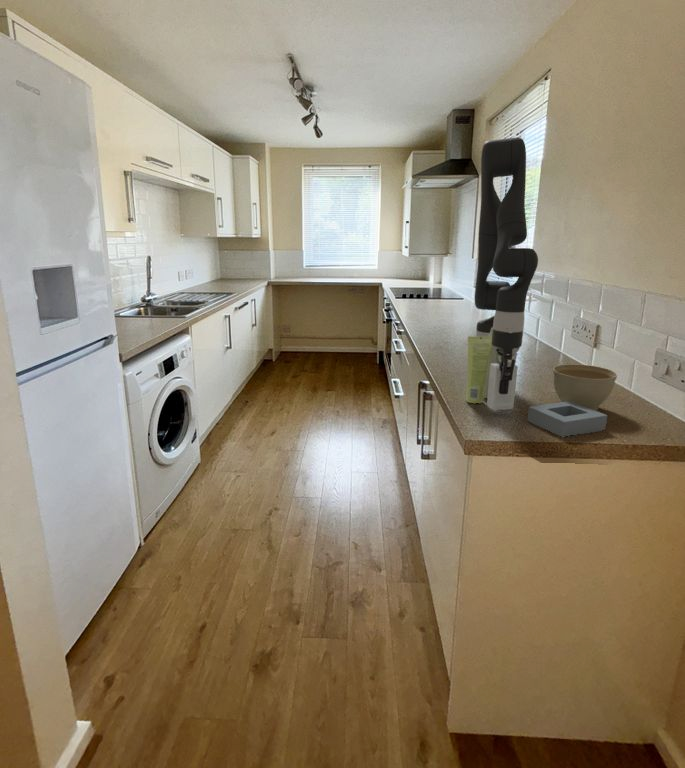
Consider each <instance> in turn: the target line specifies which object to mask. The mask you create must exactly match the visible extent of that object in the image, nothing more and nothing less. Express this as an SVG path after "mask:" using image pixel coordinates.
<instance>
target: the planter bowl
mask: <svg viewBox="0 0 685 768" xmlns="http://www.w3.org/2000/svg"><path fill="white" fill-rule="evenodd" d="M552 372H553V376H552V378H553V379H552V381H553V387H554V390H555V392H556V394H557V396H558V399H560V402H567V401H571V402H574V403H577V404H579V405H582V406H584V407H587V408H590V409H592V410H595V411H598V409H599V407H600V406H601V405H602V404H603V403H605V401H606V400H607V399H608V398H609V397H610V394H611V393H612V391H613V389H614V386H615V382H616V380H617V377H618V374H617V372H615V371H613V370H611V369H608V368H605V367H601V366H596V365H589V364H588V365H587V364H582V363H581V364H578V363H577V364H575V363H570V364H568V363H567V364H566V363H565V364H559V365H556V366H553V369H552Z"/></svg>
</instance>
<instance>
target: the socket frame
mask: <svg viewBox="0 0 685 768" xmlns="http://www.w3.org/2000/svg"><path fill="white" fill-rule="evenodd" d="M527 413H528V414H527V422H528V421H529V422H528V423H530V422H531V423H530V424H532V423H533V424H532V425H535V426H536V427H538V428H541V429H543V430H545V429H546V431H547V430H548V431H547V432H549V431H550V433H551V432H552V433H551V434H553V433H555V434H554V435H556V434H557V435H556V436H558V435H559V436H558V437H560V436H561V437H560V438H566V437H565V436H568V437H571V436H570V435H574V436H578V435H577V434H580V435H585V433H586V434H591V432H592V433H597V432H603V431H606V427H607V426H606V425H607V421H608V420H607V419H608V414H605V413H603V412H600V411H598V410H597V411H595V410H592V409H590V408H587V407H584V406H582V405H579V404H577V403H574V402H571V401H567V402H561V401H560V402H553V403H552V402H551V403H546V404H541V405H540V404H538V405H531V406H528V412H527ZM602 430H603V431H602Z"/></svg>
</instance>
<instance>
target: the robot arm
mask: <svg viewBox="0 0 685 768" xmlns="http://www.w3.org/2000/svg"><path fill="white" fill-rule="evenodd" d="M526 149H527V148H526V143H525V141H524V139H523V138H521V137H508V138H500V139H491V140H487V141H485V142H484V144H483V145H482V149H481V155H480V156H481V157H480V158H481V160H480V183H481V185H480V186H481V187H480V188H481V189H480V195H481V196H480V211H479V212H480V213H479V222H478V223H479V225H478V238H477V239H478V242H477V243H478V247H477V249H478V250H477V251H478V253H477V254H478V255H477V256H478V258H477V270H476V278H475V288H474V289H475V290H474V306H475V308H476V309H477V310H481V311H483V310H487V311H495V313H494V315H493V316H491V317H489V318H484V319H481V320H479V321H478V322H477V324H476V330H475V337H488V336H489V334H490V331H491V328H492V327H493V332H492V345H493V346H495V347H498V348H497V349H496V363H499V371H500V385H499V393H500V394H508V387H509V381H510V380H512V375H513V369H514V364H515V365H516V363H515V359H514V354H512V352H513V351H512V350H513V349H514V348H519V347H520V348H521V347H522V343H523V338H524V337H523V335H524V327H525V310H526V309H525V308H526V301H527V295H528V291H529V289H530V285H531V282H532V280H533V278H534V276H535V274H536V271H537V267H538V265H539V257H538V254H537V252H536V251H535V250H534V249H533V248H529V247H524V248H523V247H515V246H519V245H521V244H523V243H524V242H525V240H526V239H527V237H528V230H527V229H528V228H527V218H526V210H525V209H526V208H525V207H526V205H525V204H526V203H525V202H526V182H527V180H526V178H527V175H526V174H527V150H526ZM511 176H512V182H511V183H510V186H509V188H508V191H507V192H506V194H505V196H504V197H503V199H502V200H500V198H499V196H498V193H497V191H496V188H495V185H494V178H501V177H511ZM492 270H493V272H494V273H495V275H496V276H497V277H500V278H517V279H516V281H515V283H513V284H510V282H508V281H503V280H502V281H501V280H500V281H499V280H488V278H489V275H490V273H491V271H492ZM520 348H519V349H520ZM501 366H502V367H503V368H502V367H501ZM505 373H508V376H507V375H505Z"/></svg>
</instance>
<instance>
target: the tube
mask: <svg viewBox="0 0 685 768" xmlns="http://www.w3.org/2000/svg"><path fill="white" fill-rule="evenodd" d="M491 347H492V337H476V335H475V336H474V335H473V336H469V335H467V377H466V393H465V394H466V395H465V401H466V402H467V403H470V404H476V403H479V404H482V403H483V402H484V399H483V397H484V390H485V382H486V375H487V369H488V363H489V357H490V352H491ZM476 405H477V404H476Z"/></svg>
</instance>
